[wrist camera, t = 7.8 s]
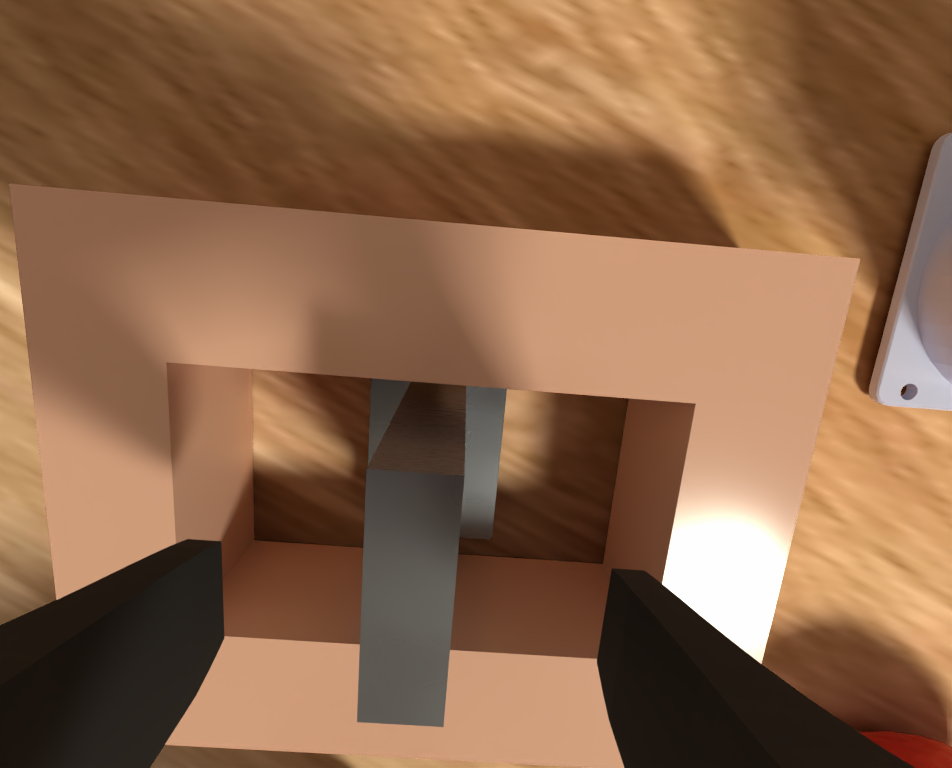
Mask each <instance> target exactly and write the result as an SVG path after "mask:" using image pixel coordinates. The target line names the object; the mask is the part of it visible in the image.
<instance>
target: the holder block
mask: <svg viewBox="0 0 952 768" xmlns="http://www.w3.org/2000/svg"><path fill="white" fill-rule="evenodd" d="M9 189H10V197H11V206H12V215H13V224H14V232H15V241H16V250H17V259H18V268H19V276H20V285H21V294H22V303H23V311H24V320H25V329H26V338H27V346H28V355H29V364H30V373H31V382H32V390H33V399H34V408H35V417H36V425H37V434H38V443H39V452H40V460H41V469H42V478H43V487H44V495H45V504H46V513H47V522H48V531H49V539H50V548H51V557H52V566H53V574H54V583H55V592H56V600H58V599H60V598H62V597H64V596H66V595H68V594H70V593H72V592H75V591H77V590H79V589H81V588H83V587H85V586H87V585H89V584H91V583H93V582H95V581H97V580H99V579H102V578H104V577H106V576H108V575H110V574H112V573H114V572H116V571H118V570H120V569H122V568H124V567H126V566H128V565H130V564H133V563H135V562H137V561H139V560H141V559H143V558H145V557H147V556H149V555H151V554H154V553H156V552H158V551H160V550H162V549H164V548H167V547H169V546H171V545H174V544H176V543H179V542H181V541H184V540H186V539H195V540H209V541H221V545H222V576H223V608H224V640H223V642H222V645H221V647H220V649H219V651H218V653H217V655H216V657H215V659H214V661H213V663H212V665H211V668H210V670H209V672H208V674H207V675H206V677H205V679H204V681H203V683H202V685H201V687H200V689H199V691H198V693H197V695H196V697H195V698H194V700H193V701H192V703H191V705H190V706H189V708H188V709H187V711H186V712H185V714H184V716H183V717H182V719H181V720H180V722H179V723H178V725H177V726H176V728H175V730H174V731H173V733H172V734H171V736H170V737H169V739H168V740H167V742H166V744H165V745H176V746H194V747H213V748H231V749H250V750H269V751H287V752H306V753H324V754H343V755H362V756H380V757H399V758H417V759H436V760H455V761H473V762H492V763H510V764H529V765H548V766H566V767H585V768H624V765H623V762H622V759H621V756H620V753H619V750H618V747H617V744H616V741H615V738H614V735H613V731H612V728H611V725H610V722H609V719H608V714H607V709H606V705H605V700H604V696H603V691H602V686H601V681H600V676H599V671H598V666H597V657H598V651H599V645H600V638H601V632H602V626H603V620H604V613H605V607H606V601H607V595H608V589H609V582H610V576H611V570H612V568H615V569H629V570H644V571H646V572H647V573H648V574H650V575H651V576H653V577H654V578H655V579H656V580H658V581H659V582H660V583H662V584H663V585H664V586H665V587H667V588H668V589H669V590H670V591H671V592H673V593H674V594H675V595H676V596H677V597H679V598H680V599H681V600H682V601H684V602H685V603H686V604H687V605H688V606H690V607H691V608H692V609H693V610H694V611H696V612H697V613H698V614H699V615H700V616H702V617H703V618H704V619H705V620H707V621H708V622H709V623H710V624H711V625H713V626H714V627H715V628H716V629H718V630H719V631H720V632H721V633H722V634H724V635H725V636H726V637H727V638H729V639H730V640H731V641H732V642H734V643H735V644H736V645H737V646H739V647H740V648H741V649H743V650H744V651H745V652H746V653H748V654H749V655H750V656H752V657H753V658H754V659H755V660H757V661H758V662H759V663H761V664H762V660H763V655H764V651H765V647H766V643H767V639H768V635H769V631H770V627H771V623H772V619H773V615H774V610H775V606H776V602H777V598H778V594H779V590H780V586H781V582H782V578H783V574H784V570H785V566H786V561H787V557H788V553H789V549H790V545H791V541H792V537H793V533H794V529H795V525H796V521H797V517H798V512H799V508H800V504H801V500H802V496H803V492H804V488H805V484H806V480H807V476H808V472H809V468H810V463H811V459H812V455H813V451H814V447H815V443H816V439H817V435H818V431H819V427H820V423H821V419H822V414H823V410H824V406H825V402H826V398H827V394H828V390H829V386H830V382H831V378H832V374H833V370H834V365H835V361H836V357H837V353H838V349H839V345H840V341H841V337H842V333H843V329H844V325H845V321H846V316H847V312H848V308H849V304H850V300H851V296H852V292H853V288H854V284H855V280H856V276H857V271H858V267H859V263H860V259H857V258H846V257H834V256H823V255H812V254H800V253H789V252H778V251H767V250H755V249H744V248H733V247H721V246H710V245H699V244H688V243H676V242H665V241H654V240H642V239H631V238H620V237H609V236H597V235H586V234H575V233H563V232H552V231H541V230H530V229H518V228H507V227H496V226H484V225H473V224H462V223H451V222H439V221H428V220H417V219H405V218H394V217H383V216H371V215H360V214H349V213H338V212H326V211H315V210H304V209H292V208H281V207H270V206H259V205H247V204H236V203H225V202H213V201H202V200H191V199H180V198H168V197H157V196H146V195H134V194H123V193H112V192H101V191H89V190H78V189H67V188H55V187H44V186H33V185H22V184H10V183H9ZM252 369H259V370H272V371H285V372H297V373H310V374H323V375H336V376H349V377H362V378H374V379H387V380H400V381H413V382H426V383H438V384H451V385H464V386H477V387H490V388H502V389H515V390H528V391H541V392H554V393H566V394H579V395H592V396H605V397H618V398H629V399H628V406H627V412H626V418H625V425H624V431H623V438H622V444H621V451H620V457H619V464H618V470H617V476H616V483H615V489H614V496H613V502H612V509H611V515H610V521H609V528H608V534H607V541H606V547H605V554H604V560H603V564H599V563H584V562H569V561H554V560H539V559H524V558H509V557H495V556H480V555H465V554H458V560H457V572H456V584H455V596H454V608H453V620H452V632H451V644H450V656H449V668H448V679H447V691H446V703H445V715H444V727H433V726H416V725H398V724H380V723H362V722H357V706H358V680H359V653H360V627H361V600H362V574H363V548H361V547H346V546H331V545H316V544H301V543H286V542H271V541H256V540H254V489H253V422H252Z"/></svg>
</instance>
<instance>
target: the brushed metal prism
mask: <svg viewBox="0 0 952 768" xmlns="http://www.w3.org/2000/svg"><path fill="white" fill-rule="evenodd" d="M506 391H507V389H502V388H490V387H477V386H464V385H451V384H438V383H426V382H413V381H400V380H387V379H374V378H371V396H370V422H369V448H368V467H367V469H366V494H365V521H364V547H363V574H362V600H361V627H360V653H359V680H358V706H357V722H362V723H380V724H398V725H416V726H433V727H444V715H445V703H446V691H447V679H448V668H449V656H450V644H451V632H452V620H453V608H454V596H455V584H456V572H457V560H458V549H459V537H462V538H476V539H491V540H492V531H493V521H494V511H495V501H496V491H497V481H498V471H499V461H500V451H501V441H502V431H503V421H504V411H505V401H506Z"/></svg>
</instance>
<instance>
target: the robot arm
mask: <svg viewBox="0 0 952 768" xmlns="http://www.w3.org/2000/svg"><path fill="white" fill-rule="evenodd" d="M905 385H907V390H906V392H905V393H904V394H903V395H902V396H901V390H902V388H903V387H904V386H905ZM869 395H870V397H871V399H872V400H874V401H875V402H877V403H880V404H884V405H887V406H897V407H910V408H923V409H935V410H948V411H952V132H950V133H947V134H945V135H943V136H941V137H940V138H939V139H938V140H937V141H936V142H935V143H934V145H933V148H932V150H931V154H930V157H929V161H928V165H927V169H926V173H925V176H924V180H923V184H922V188H921V192H920V195H919V199H918V203H917V207H916V211H915V214H914V218H913V222H912V226H911V230H910V233H909V237H908V241H907V245H906V249H905V252H904V256H903V260H902V264H901V268H900V271H899V275H898V279H897V283H896V287H895V290H894V294H893V298H892V302H891V306H890V310H889V313H888V317H887V321H886V325H885V329H884V332H883V336H882V340H881V344H880V348H879V351H878V355H877V359H876V363H875V367H874V370H873V374H872V378H871V382H870V386H869ZM223 640H224V608H223V576H222V545H221V541H209V540H195V539H186V540H184V541H181V542H179V543H176V544H174V545H171V546H169V547H167V548H164V549H162V550H160V551H158V552H156V553H154V554H151V555H149V556H147V557H145V558H143V559H141V560H139V561H137V562H135V563H133V564H130V565H128V566H126V567H124V568H122V569H120V570H118V571H116V572H114V573H112V574H110V575H108V576H106V577H104V578H102V579H99V580H97V581H95V582H93V583H91V584H89V585H87V586H85V587H83V588H81V589H79V590H77V591H75V592H72V593H70V594H68V595H66V596H64V597H62V598H60V599H58V600H56V601H53V602H51V603H49V604H47V605H44V606H42V607H40V608H38V609H36V610H33V611H31V612H29V613H27V614H24V615H22V616H20V617H18V618H16V619H13V620H11V621H9V622H7V623H4V624H2V625H0V768H150V767H151V765H152V763H153V762H154V760H155V759H156V757H157V756H158V754H159V753H160V751H161V750H162V748H163V747H164V745H165V744H166V742H167V740H168V739H169V737H170V736H171V734H172V733H173V731H174V730H175V728H176V726H177V725H178V723H179V722H180V720H181V719H182V717H183V716H184V714H185V712H186V711H187V709H188V708H189V706H190V705H191V703H192V701H193V700H194V698H195V697H196V695H197V693H198V691H199V689H200V687H201V685H202V683H203V681H204V679H205V677H206V675H207V674H208V672H209V670H210V668H211V665H212V663H213V661H214V659H215V657H216V655H217V653H218V651H219V649H220V647H221V645H222V642H223ZM597 666H598V671H599V676H600V681H601V686H602V691H603V696H604V700H605V705H606V709H607V714H608V719H609V722H610V725H611V728H612V731H613V735H614V738H615V741H616V744H617V747H618V750H619V753H620V756H621V759H622V762H623V765H624V768H915V767H913V766H912V765H910V764H908V763H907V762H905V761H903V760H902V759H900V758H898V757H897V756H895V755H894V754H892V753H890V752H889V751H887V750H885V749H884V748H882V747H881V746H879V745H878V744H876V743H875V742H873V741H872V740H870V739H868V738H867V737H865V736H864V735H862V734H861V733H859V732H858V731H856V730H855V729H853V728H852V727H850V726H849V725H847V724H845V723H844V722H842V721H841V720H839V719H838V718H836V717H835V716H833V715H832V714H830V713H829V712H827V711H826V710H824V709H823V708H821V707H820V706H818V705H817V704H816V703H814V702H813V701H811V700H810V699H808V698H807V697H806V696H804V695H803V694H801V693H800V692H799V691H797V690H796V689H795V688H793V687H792V686H790V685H789V684H788V683H786V682H785V681H784V680H782V679H781V678H780V677H778V676H777V675H775V674H774V673H773V672H771V671H770V670H769V669H767V668H766V667H765V666H763V665H762V664H761V663H759V662H758V661H757V660H755V659H754V658H753V657H752V656H750V655H749V654H748V653H746V652H745V651H744V650H743V649H741V648H740V647H739V646H737V645H736V644H735V643H734V642H732V641H731V640H730V639H729V638H727V637H726V636H725V635H724V634H722V633H721V632H720V631H719V630H718V629H716V628H715V627H714V626H713V625H711V624H710V623H709V622H708V621H707V620H705V619H704V618H703V617H702V616H700V615H699V614H698V613H697V612H696V611H694V610H693V609H692V608H691V607H690V606H688V605H687V604H686V603H685V602H684V601H682V600H681V599H680V598H679V597H677V596H676V595H675V594H674V593H673V592H671V591H670V590H669V589H668V588H667V587H665V586H664V585H663V584H662V583H660V582H659V581H658V580H656V579H655V578H654V577H653V576H651V575H650V574H648V573H647V572H646V571H644V570H629V569H615V568H612V570H611V576H610V582H609V589H608V595H607V601H606V607H605V613H604V620H603V626H602V632H601V638H600V645H599V651H598V657H597Z"/></svg>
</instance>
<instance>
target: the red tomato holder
mask: <svg viewBox="0 0 952 768" xmlns="http://www.w3.org/2000/svg"><path fill="white" fill-rule="evenodd" d="M859 733H861V734H862V735H864V736H865V737H867V738H868V739H870V740H872V741H873V742H875V743H876V744H878V745H879V746H881V747H882V748H884V749H885V750H887V751H889V752H890V753H892V754H894V755H895V756H897V757H898V758H900V759H902V760H903V761H905V762H907V763H908V764H910V765H912V766H913V767H915V768H952V747H950V746H948V745H946V744H944V743H942V742H940V741H936V740H932V739H929V738H926V737H923V736H918V735H910V734H902V733H897V732H892V731H875V732H859Z"/></svg>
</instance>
